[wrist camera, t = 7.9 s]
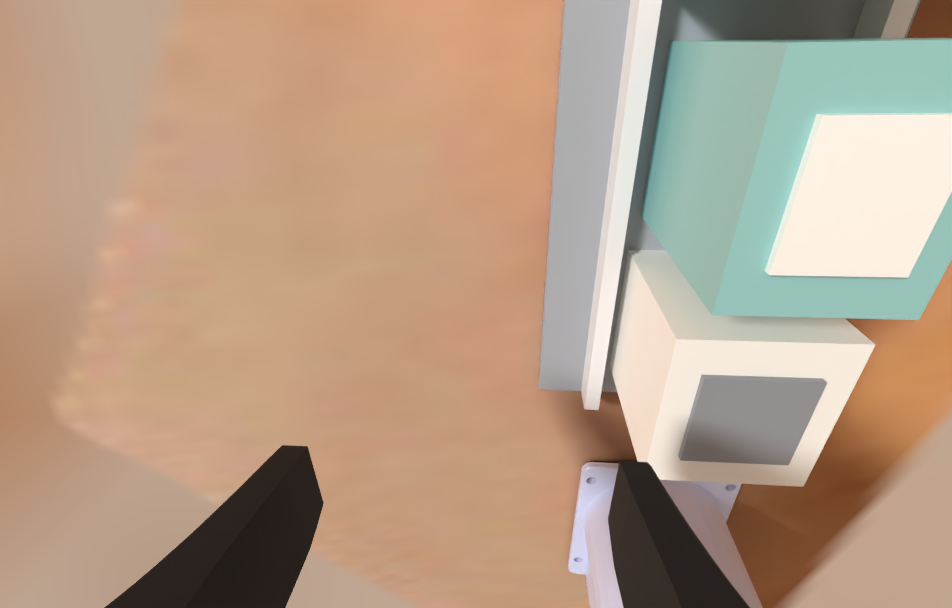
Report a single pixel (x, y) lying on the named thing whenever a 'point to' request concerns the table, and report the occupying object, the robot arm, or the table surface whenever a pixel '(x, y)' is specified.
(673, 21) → the board
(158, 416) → the table surface
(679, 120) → the block
